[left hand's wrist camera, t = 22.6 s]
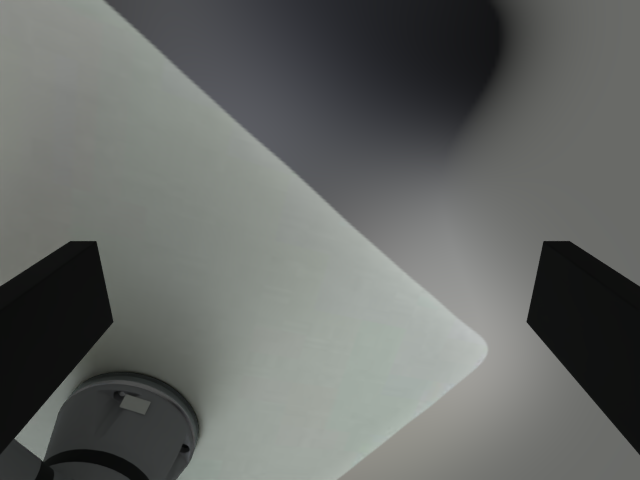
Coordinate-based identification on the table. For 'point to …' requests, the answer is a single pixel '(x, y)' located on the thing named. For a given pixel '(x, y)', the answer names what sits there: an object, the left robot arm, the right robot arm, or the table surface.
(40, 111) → the table surface
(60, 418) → the left robot arm
